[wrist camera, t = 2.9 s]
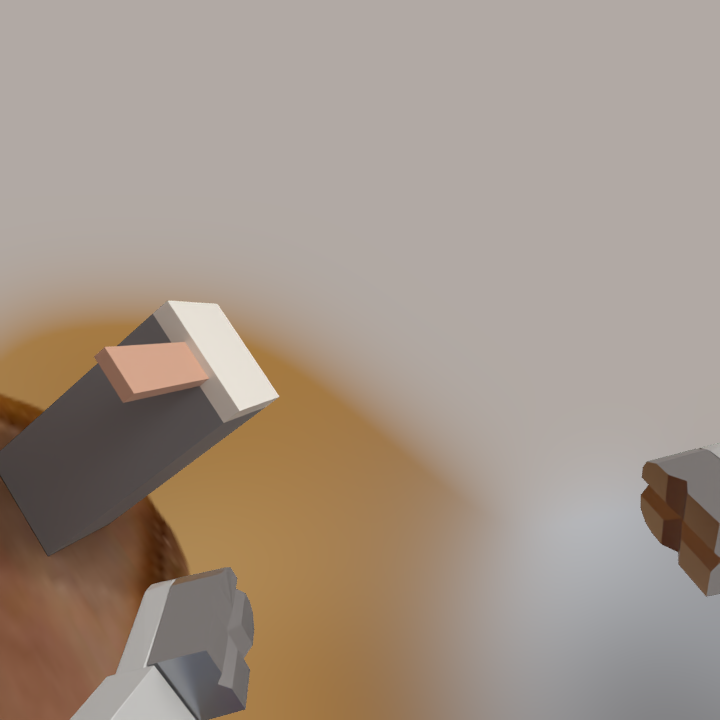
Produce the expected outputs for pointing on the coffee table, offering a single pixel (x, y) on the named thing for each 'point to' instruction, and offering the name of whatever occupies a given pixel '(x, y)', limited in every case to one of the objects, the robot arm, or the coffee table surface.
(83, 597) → the coffee table surface
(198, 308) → the lid
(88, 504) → the carton
